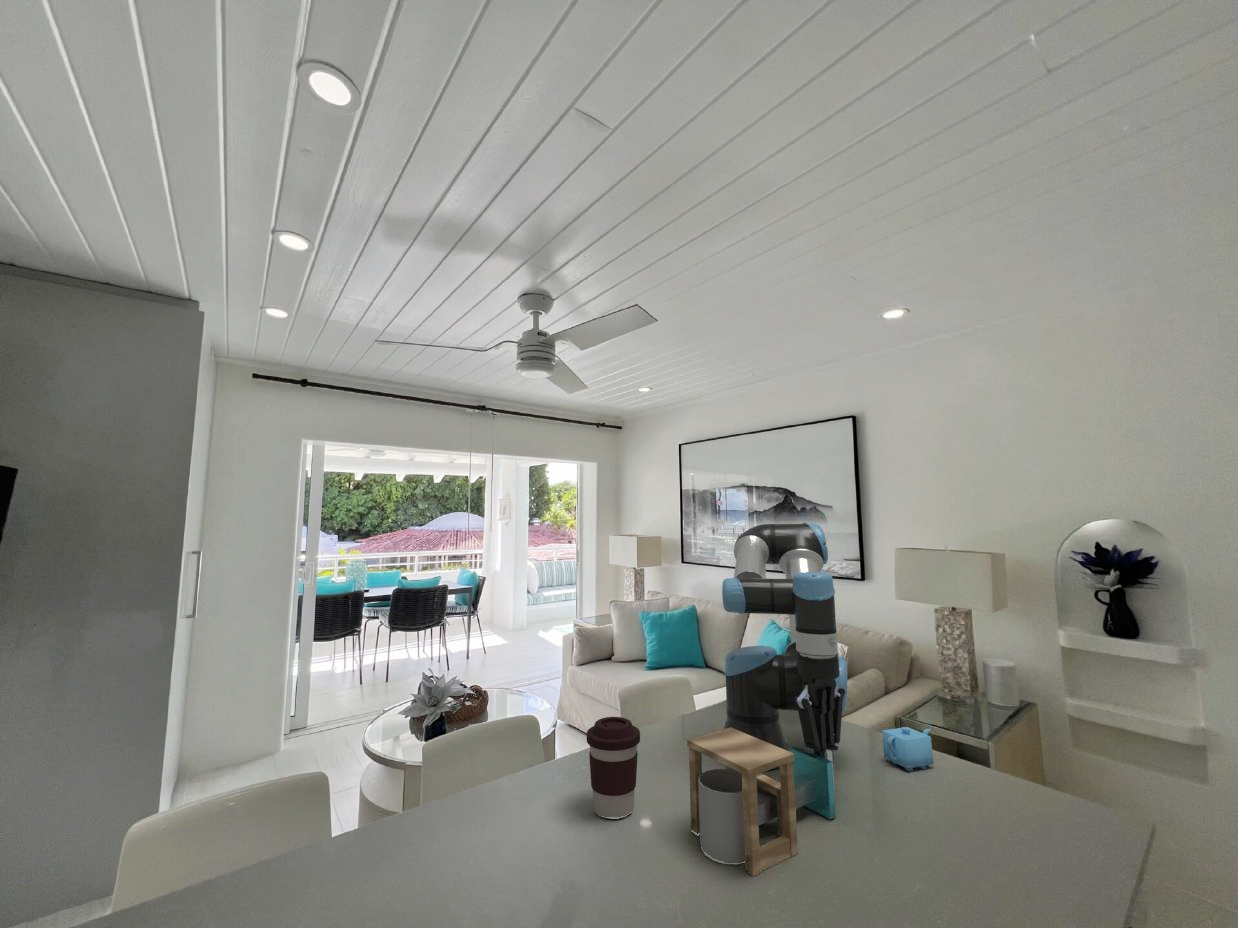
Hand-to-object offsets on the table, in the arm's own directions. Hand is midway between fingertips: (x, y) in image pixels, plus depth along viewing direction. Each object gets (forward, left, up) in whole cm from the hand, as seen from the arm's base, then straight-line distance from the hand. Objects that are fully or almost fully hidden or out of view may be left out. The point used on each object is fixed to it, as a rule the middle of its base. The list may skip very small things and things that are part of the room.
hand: (825, 786), depth 94 cm
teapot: (0, +30, -3) cm, 30 cm away
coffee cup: (-20, -34, -3) cm, 40 cm away
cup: (0, -25, -3) cm, 25 cm away
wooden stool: (0, -21, -3) cm, 21 cm away
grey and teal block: (0, -12, -3) cm, 12 cm away
